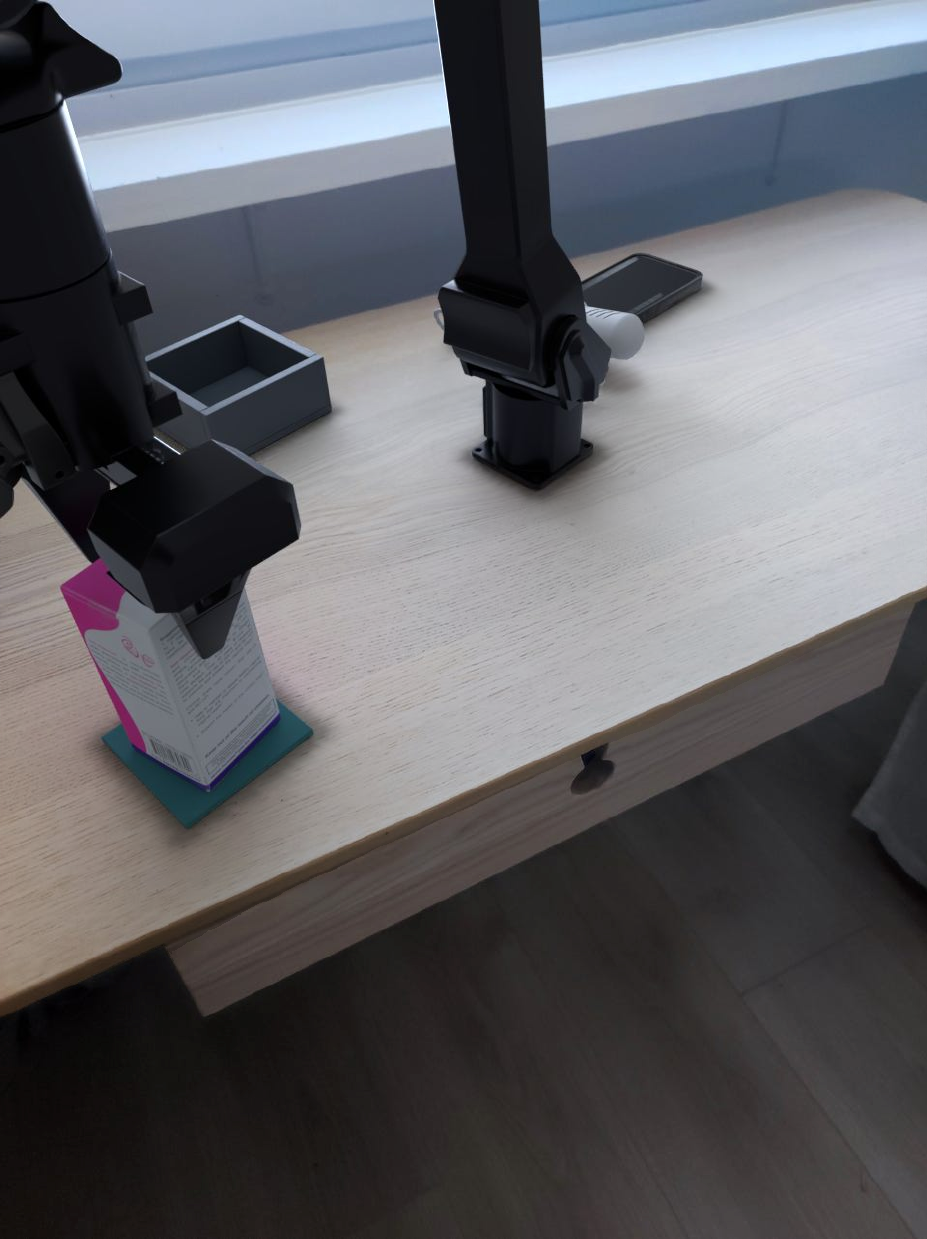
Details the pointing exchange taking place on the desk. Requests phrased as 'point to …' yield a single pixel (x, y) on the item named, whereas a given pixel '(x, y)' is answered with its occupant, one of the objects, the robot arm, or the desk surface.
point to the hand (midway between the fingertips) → (153, 602)
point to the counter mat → (197, 803)
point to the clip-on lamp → (609, 330)
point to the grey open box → (240, 385)
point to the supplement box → (175, 680)
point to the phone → (640, 285)
